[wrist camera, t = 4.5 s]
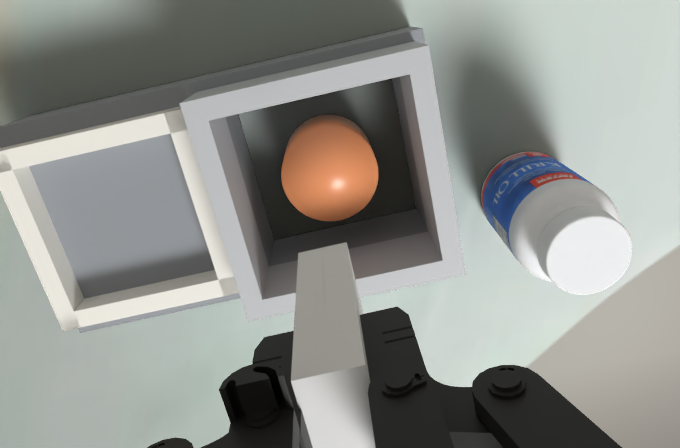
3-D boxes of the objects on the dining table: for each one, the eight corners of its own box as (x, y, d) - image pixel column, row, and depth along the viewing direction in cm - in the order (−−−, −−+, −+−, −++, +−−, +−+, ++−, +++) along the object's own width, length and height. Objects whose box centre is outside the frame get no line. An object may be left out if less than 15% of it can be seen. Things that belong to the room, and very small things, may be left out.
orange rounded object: (296, 207, 34) (294, 230, 31) (275, 125, 33) (270, 139, 29) (379, 189, 34) (386, 209, 31) (362, 105, 33) (367, 117, 29)
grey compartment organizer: (104, 300, 37) (50, 373, 29) (29, 115, 33) (-56, 146, 25) (444, 225, 36) (477, 281, 29) (410, 26, 32) (438, 30, 25)
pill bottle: (538, 131, 34) (618, 174, 25) (582, 200, 36) (672, 264, 27) (460, 185, 35) (510, 246, 26) (506, 250, 37) (568, 329, 28)
